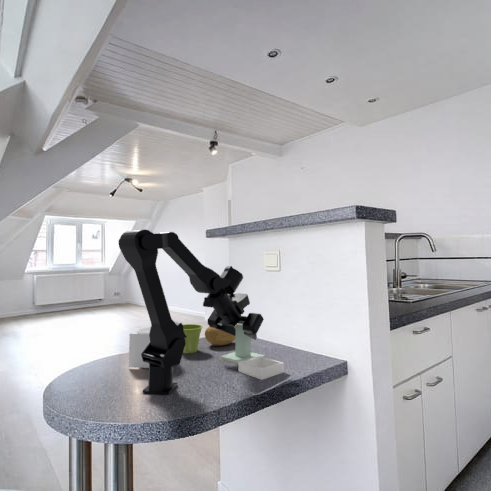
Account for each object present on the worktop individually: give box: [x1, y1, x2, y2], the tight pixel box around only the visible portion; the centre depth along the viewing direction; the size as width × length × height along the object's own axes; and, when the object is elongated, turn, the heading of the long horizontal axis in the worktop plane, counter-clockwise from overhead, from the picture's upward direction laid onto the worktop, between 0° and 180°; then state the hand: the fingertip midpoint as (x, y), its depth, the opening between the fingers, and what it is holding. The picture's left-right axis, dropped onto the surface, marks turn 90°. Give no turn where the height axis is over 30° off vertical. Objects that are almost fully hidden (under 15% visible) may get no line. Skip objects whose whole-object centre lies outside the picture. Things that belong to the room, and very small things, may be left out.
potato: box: [204, 325, 236, 347], centre depth 124 cm, size 10×14×8 cm
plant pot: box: [182, 323, 203, 354], centre depth 115 cm, size 9×9×9 cm
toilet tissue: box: [128, 326, 164, 369], centre depth 101 cm, size 11×12×10 cm
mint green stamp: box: [220, 323, 266, 365], centre depth 106 cm, size 10×10×11 cm
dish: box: [238, 356, 285, 381], centre depth 93 cm, size 9×9×3 cm
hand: (245, 336), depth 107 cm, fingers open, 8 cm apart
